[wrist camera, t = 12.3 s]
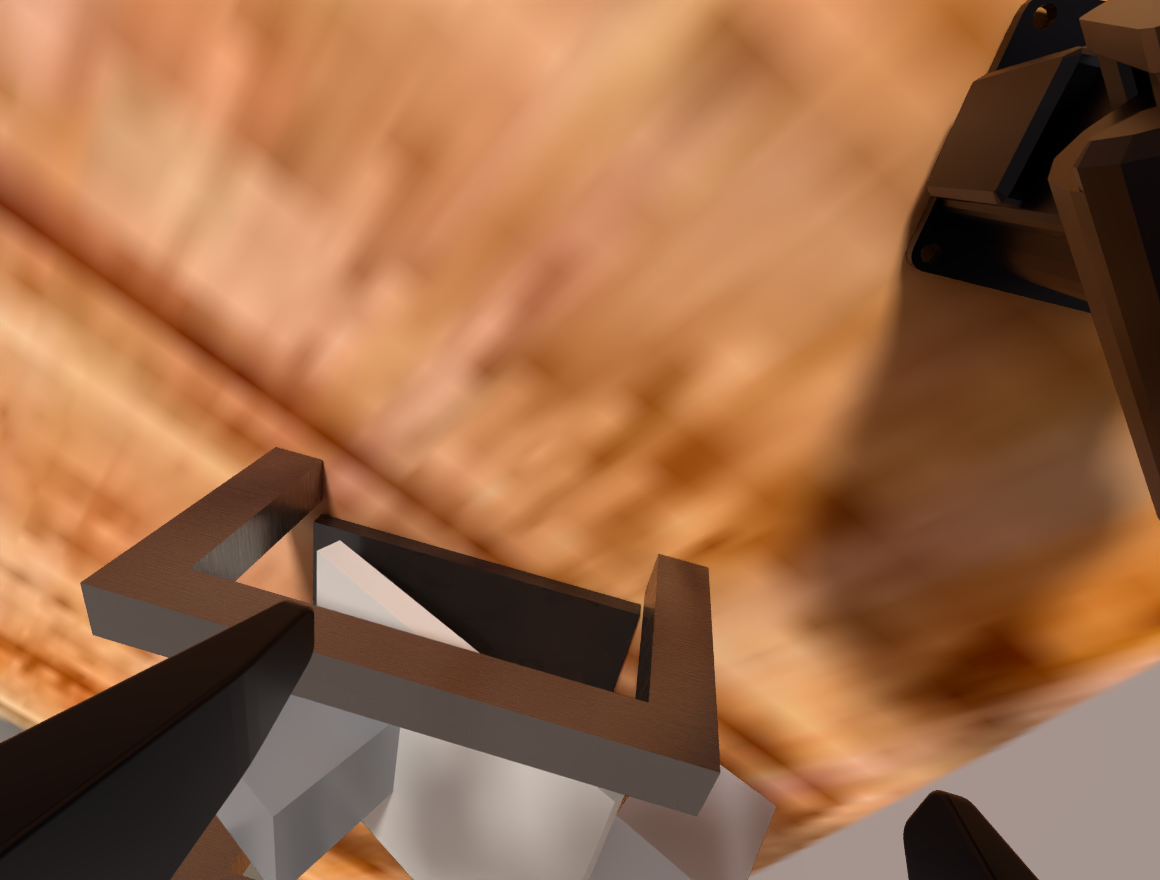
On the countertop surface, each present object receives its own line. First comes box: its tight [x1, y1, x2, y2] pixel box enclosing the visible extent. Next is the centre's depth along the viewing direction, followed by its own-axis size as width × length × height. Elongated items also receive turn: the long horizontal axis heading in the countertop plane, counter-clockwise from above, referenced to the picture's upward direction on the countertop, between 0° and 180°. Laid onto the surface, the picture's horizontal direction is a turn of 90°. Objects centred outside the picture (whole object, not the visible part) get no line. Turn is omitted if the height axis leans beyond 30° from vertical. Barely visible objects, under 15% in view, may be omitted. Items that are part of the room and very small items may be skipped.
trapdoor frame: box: [80, 447, 721, 880], centre depth 23 cm, size 18×19×8 cm
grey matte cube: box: [216, 695, 400, 880], centre depth 22 cm, size 5×5×5 cm
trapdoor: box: [317, 541, 776, 880], centre depth 23 cm, size 18×14×5 cm
